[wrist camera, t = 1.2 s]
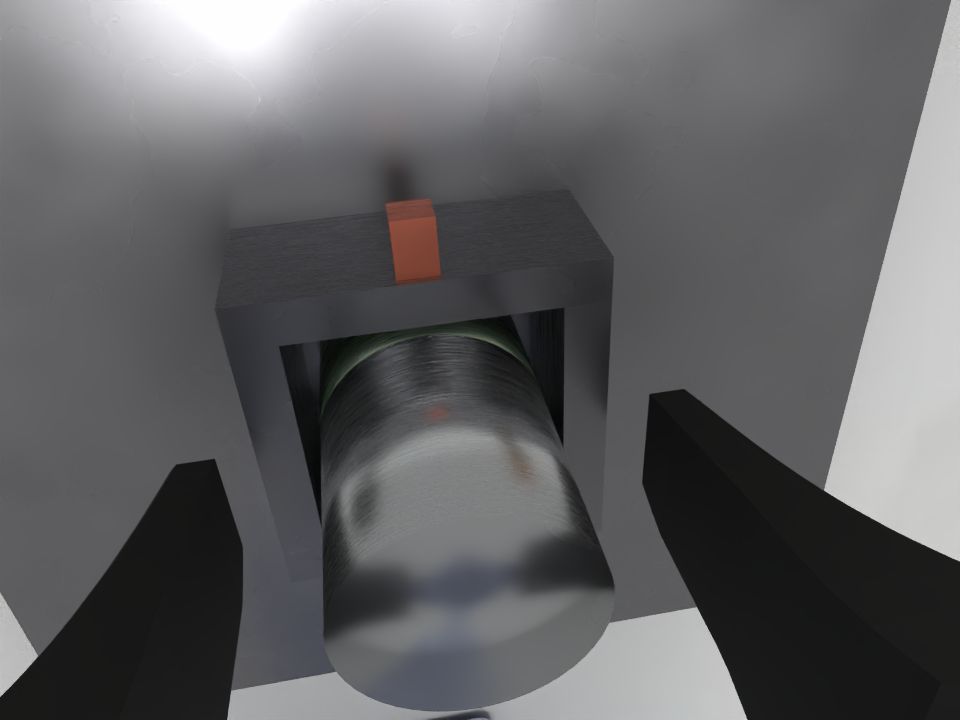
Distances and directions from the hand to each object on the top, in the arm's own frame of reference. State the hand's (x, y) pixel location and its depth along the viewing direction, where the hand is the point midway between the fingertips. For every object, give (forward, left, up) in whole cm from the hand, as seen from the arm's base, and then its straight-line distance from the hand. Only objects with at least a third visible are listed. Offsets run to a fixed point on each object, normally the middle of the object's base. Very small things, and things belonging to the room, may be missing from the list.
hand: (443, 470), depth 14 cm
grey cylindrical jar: (0, 0, -3) cm, 3 cm away
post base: (0, 0, -5) cm, 5 cm away
